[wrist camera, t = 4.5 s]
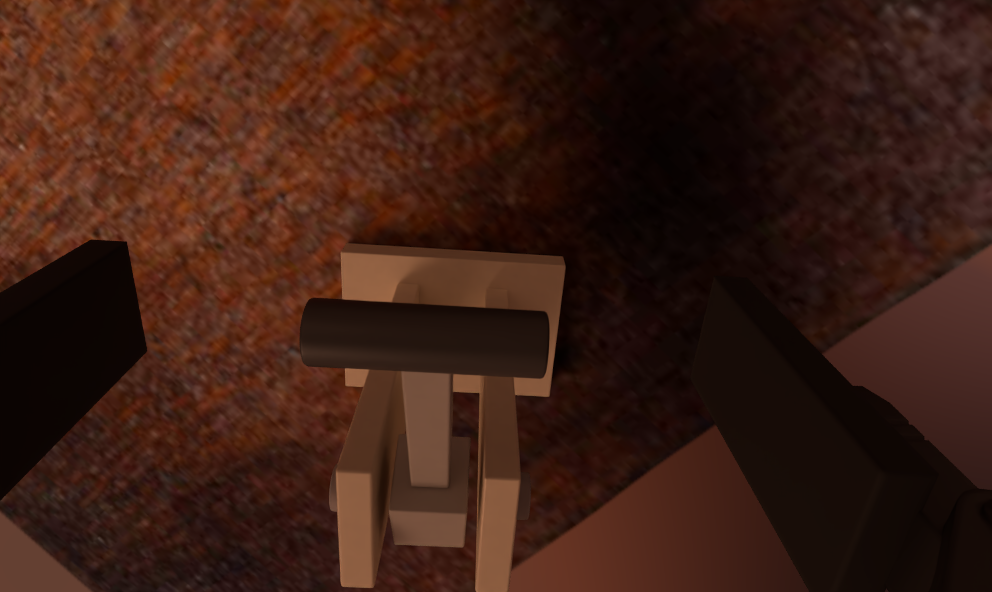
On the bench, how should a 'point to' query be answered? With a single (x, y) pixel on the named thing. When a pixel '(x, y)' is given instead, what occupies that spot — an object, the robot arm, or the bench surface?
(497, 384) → the bracket
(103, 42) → the bench surface
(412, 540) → the lever
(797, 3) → the bench surface
